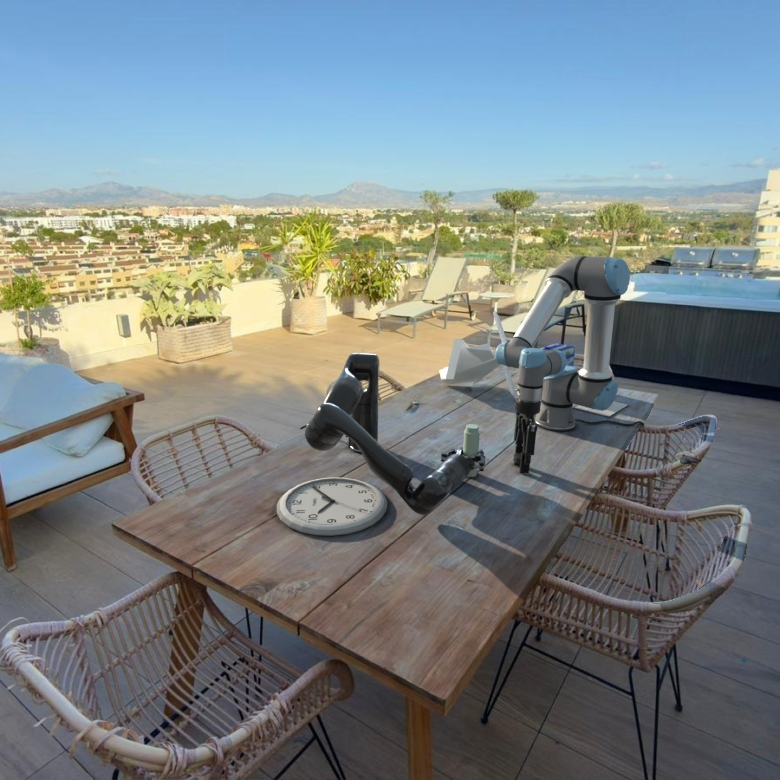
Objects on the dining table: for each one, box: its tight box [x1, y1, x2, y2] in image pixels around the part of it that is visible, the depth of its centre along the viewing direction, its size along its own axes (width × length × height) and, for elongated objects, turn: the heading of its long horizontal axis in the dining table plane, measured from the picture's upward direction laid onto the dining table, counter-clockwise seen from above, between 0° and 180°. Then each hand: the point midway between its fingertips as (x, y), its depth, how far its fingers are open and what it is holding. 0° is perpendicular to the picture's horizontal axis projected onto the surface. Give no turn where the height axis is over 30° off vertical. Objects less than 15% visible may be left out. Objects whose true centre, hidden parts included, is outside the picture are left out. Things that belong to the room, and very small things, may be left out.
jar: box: [462, 423, 481, 478], centre depth 160 cm, size 5×5×16 cm
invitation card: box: [573, 400, 629, 418], centre depth 226 cm, size 21×1×15 cm
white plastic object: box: [438, 310, 519, 400], centre depth 245 cm, size 37×45×31 cm
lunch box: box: [540, 343, 576, 367], centre depth 249 cm, size 26×11×21 cm, turn 134°
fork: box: [405, 396, 421, 411], centre depth 222 cm, size 3×16×2 cm, turn 160°
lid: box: [512, 452, 532, 464], centre depth 165 cm, size 5×5×2 cm
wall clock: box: [276, 476, 388, 537], centre depth 142 cm, size 30×2×30 cm
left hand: (473, 450), depth 163 cm, fingers closed on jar, 4 cm apart
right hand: (521, 468), depth 166 cm, fingers closed on lid, 5 cm apart
